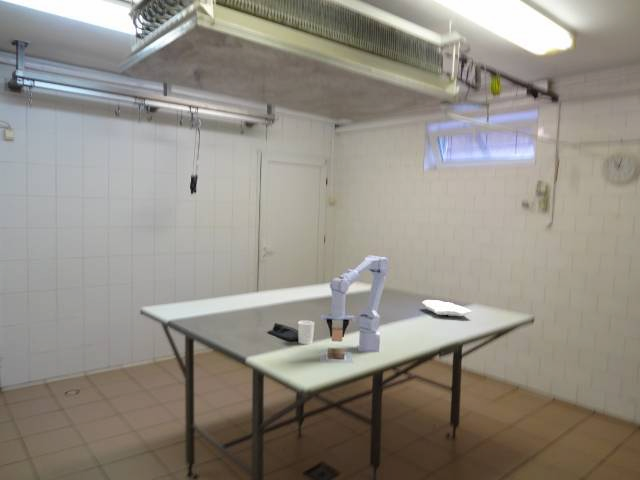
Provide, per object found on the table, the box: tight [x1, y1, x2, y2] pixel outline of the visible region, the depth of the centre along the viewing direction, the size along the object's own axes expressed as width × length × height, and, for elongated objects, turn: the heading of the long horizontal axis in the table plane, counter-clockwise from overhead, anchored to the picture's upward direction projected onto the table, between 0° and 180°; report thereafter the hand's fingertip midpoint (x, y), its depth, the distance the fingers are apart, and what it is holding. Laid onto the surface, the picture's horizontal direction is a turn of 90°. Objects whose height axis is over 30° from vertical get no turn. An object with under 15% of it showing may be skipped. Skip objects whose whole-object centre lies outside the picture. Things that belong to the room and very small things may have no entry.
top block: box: [330, 326, 343, 343], centre depth 204 cm, size 4×4×5 cm
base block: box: [327, 347, 345, 359], centre depth 204 cm, size 7×7×2 cm
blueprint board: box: [319, 350, 354, 364], centre depth 204 cm, size 14×14×1 cm
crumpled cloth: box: [421, 299, 473, 317], centre depth 294 cm, size 24×35×9 cm
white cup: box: [297, 319, 315, 345], centre depth 223 cm, size 8×8×10 cm
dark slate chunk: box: [267, 322, 298, 342], centre depth 235 cm, size 15×22×5 cm
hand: (336, 336), depth 204 cm, fingers closed on top block, 4 cm apart
